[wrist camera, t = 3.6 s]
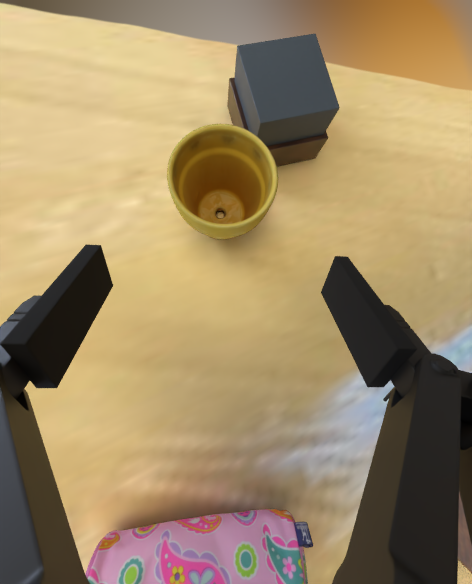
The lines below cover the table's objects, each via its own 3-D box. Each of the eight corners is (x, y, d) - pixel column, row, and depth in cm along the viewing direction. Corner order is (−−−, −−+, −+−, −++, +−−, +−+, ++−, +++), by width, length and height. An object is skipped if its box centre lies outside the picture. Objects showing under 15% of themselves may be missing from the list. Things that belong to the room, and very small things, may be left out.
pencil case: (293, 488, 30) (327, 563, 21) (296, 571, 29) (332, 685, 20) (110, 504, 28) (61, 594, 19) (108, 592, 27) (56, 730, 18)
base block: (294, 93, 35) (305, 65, 31) (315, 158, 34) (328, 137, 30) (227, 106, 34) (229, 78, 30) (246, 173, 33) (251, 153, 29)
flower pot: (220, 271, 32) (222, 251, 22) (164, 213, 32) (142, 169, 22) (275, 218, 33) (301, 178, 23) (221, 163, 33) (225, 100, 23)
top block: (302, 69, 31) (315, 33, 27) (323, 134, 30) (339, 107, 26) (234, 81, 30) (237, 45, 26) (254, 149, 29) (260, 123, 25)
